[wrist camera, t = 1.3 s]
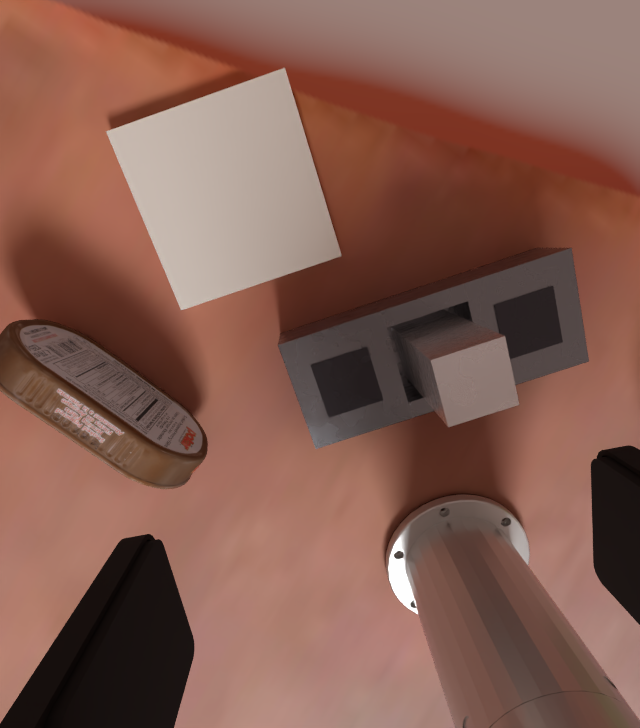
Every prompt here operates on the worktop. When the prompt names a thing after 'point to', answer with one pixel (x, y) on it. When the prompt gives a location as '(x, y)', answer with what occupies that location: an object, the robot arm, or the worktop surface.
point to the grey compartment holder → (454, 294)
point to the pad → (228, 189)
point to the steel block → (456, 366)
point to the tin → (100, 403)
